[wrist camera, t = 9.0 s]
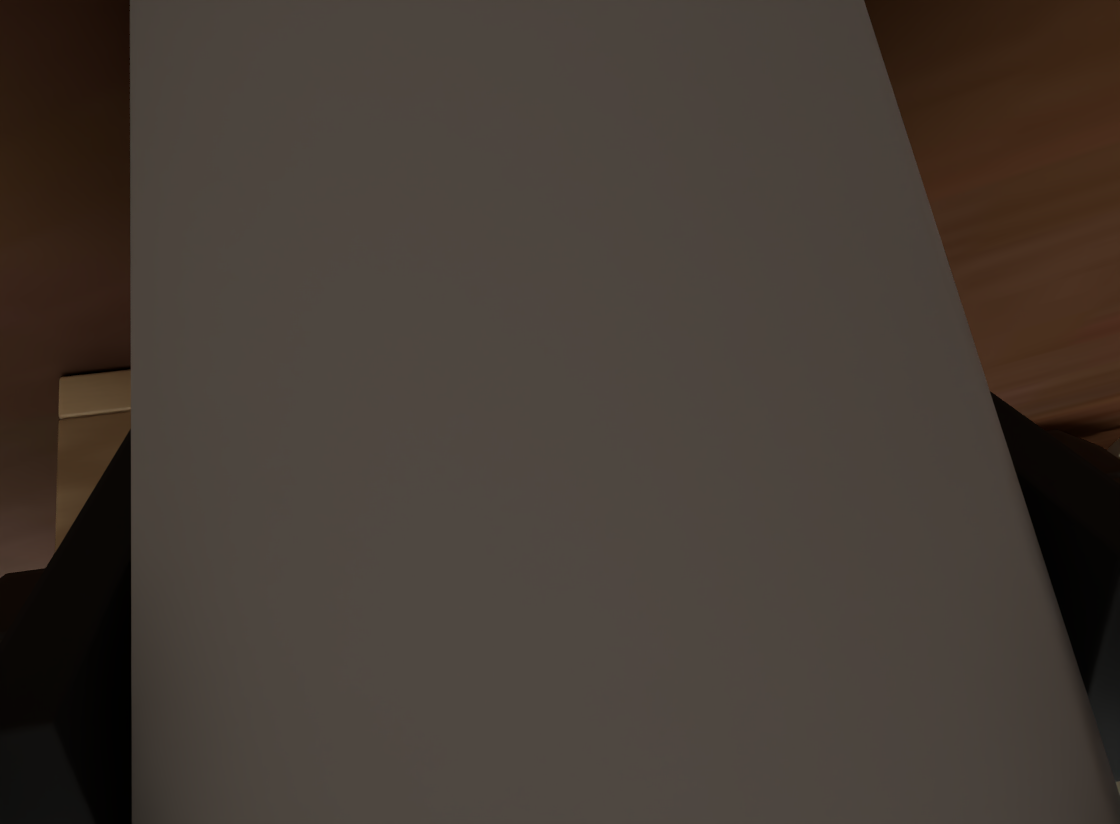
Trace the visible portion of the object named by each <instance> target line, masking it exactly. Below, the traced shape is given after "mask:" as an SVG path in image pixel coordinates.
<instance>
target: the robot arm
mask: <svg viewBox="0 0 1120 824" xmlns="http://www.w3.org/2000/svg"><path fill="white" fill-rule="evenodd" d="M990 394H991V397H992V400H993V403H994V406H995V409H996V412H997V416H998V419H999V422H1000V425H1001V428H1002V431H1003V434H1004V437H1005V440H1006V444H1007V447H1008V450H1009V453H1010V456H1011V459H1012V462H1013V465H1014V468H1015V472H1016V475H1017V478H1018V481H1019V484H1020V487H1021V490H1022V493H1023V496H1024V499H1025V503H1026V506H1027V509H1028V512H1029V515H1030V518H1031V521H1032V524H1033V527H1034V531H1035V534H1036V537H1037V540H1038V543H1039V546H1040V549H1041V552H1042V555H1043V559H1044V562H1045V565H1046V568H1047V571H1048V574H1049V577H1050V580H1051V583H1052V586H1053V590H1054V593H1055V596H1056V599H1057V602H1058V605H1059V608H1060V611H1061V614H1062V618H1063V621H1064V624H1065V627H1066V630H1067V633H1068V636H1069V639H1070V642H1071V646H1072V649H1073V652H1074V655H1075V658H1076V661H1077V664H1078V667H1079V670H1080V673H1081V677H1082V680H1083V683H1084V686H1085V689H1086V692H1087V695H1088V698H1089V701H1090V705H1091V708H1092V711H1093V714H1094V717H1095V720H1096V723H1097V726H1098V729H1099V733H1100V736H1101V739H1102V742H1103V745H1104V748H1105V751H1106V754H1107V757H1108V760H1109V764H1110V767H1111V770H1112V773H1113V776H1114V779H1115V782H1118V781H1120V459H1119V458H1117V457H1116V456H1114V455H1113V454H1111V453H1110V452H1108V451H1107V450H1106V449H1104V448H1103V447H1101V446H1098V445H1095V444H1093V443H1090V442H1088V441H1085V440H1083V439H1080V438H1078V437H1075V436H1073V435H1070V434H1068V433H1065V432H1063V431H1060V430H1058V429H1056V430H1049V431H1045V430H1043V429H1042V428H1041V427H1039V426H1038V425H1036V424H1035V423H1034V422H1032V421H1031V420H1029V419H1028V418H1027V417H1025V416H1024V415H1022V414H1021V413H1020V412H1018V411H1017V410H1015V409H1014V408H1013V407H1011V406H1010V405H1009V404H1007V403H1006V402H1004V401H1003V400H1002V399H1000V398H999V397H997V396H996V395H995V394H993V393H992V392H990ZM0 824H132V694H131V429H130V430H129V432H128V434H127V435H126V437H125V439H124V440H123V442H122V444H121V445H120V447H119V448H118V450H117V452H116V453H115V455H114V457H113V458H112V460H111V462H110V463H109V465H108V467H107V468H106V470H105V471H104V473H103V475H102V476H101V478H100V480H99V481H98V483H97V485H96V486H95V488H94V490H93V491H92V493H91V495H90V496H89V498H88V499H87V501H86V503H85V504H84V506H83V508H82V509H81V511H80V513H79V514H78V516H77V518H76V519H75V521H74V522H73V524H72V526H71V527H70V529H69V531H68V532H67V534H66V536H65V537H64V539H63V541H62V542H61V544H60V546H59V547H58V549H57V550H56V552H55V554H54V555H53V557H52V559H51V560H50V562H49V564H48V565H47V567H46V568H45V569H37V570H30V571H22V572H15V573H7V574H5V575H4V576H3V577H1V578H0Z"/></svg>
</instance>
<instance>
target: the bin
mask: <svg viewBox="0 0 1120 824" xmlns="http://www.w3.org/2000/svg"><path fill="white" fill-rule="evenodd" d="M58 415H59V418H60V419H61V420H59V422H58V460H57V499H56V538H55V552H56V550H57V549H58V547H59V546H60V544H61V542H62V541H63V539H64V537H65V536H66V534H67V532H68V531H69V529H70V527H71V526H72V524H73V522H74V521H75V519H76V518H77V516H78V514H79V513H80V511H81V509H82V508H83V506H84V504H85V503H86V501H87V499H88V498H89V496H90V495H91V493H92V491H93V490H94V488H95V486H96V485H97V483H98V481H99V480H100V478H101V476H102V475H103V473H104V471H105V470H106V468H107V467H108V465H109V463H110V462H111V460H112V458H113V457H114V455H115V453H116V452H117V450H118V448H119V447H120V445H121V444H122V442H123V440H124V439H125V437H126V435H127V434H128V432H129V430H130V429H131V369H129V370H120V371H111V372H102V373H93V374H84V375H76V376H67V377H61V378H60V379H59V414H58Z"/></svg>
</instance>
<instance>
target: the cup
mask: <svg viewBox="0 0 1120 824" xmlns="http://www.w3.org/2000/svg"><path fill="white" fill-rule="evenodd" d="M130 254H131V694H132V824H1120V795H1119V792H1118V788H1117V785H1116V782H1115V779H1114V776H1113V773H1112V770H1111V767H1110V764H1109V760H1108V757H1107V754H1106V751H1105V748H1104V745H1103V742H1102V739H1101V736H1100V733H1099V729H1098V726H1097V723H1096V720H1095V717H1094V714H1093V711H1092V708H1091V705H1090V701H1089V698H1088V695H1087V692H1086V689H1085V686H1084V683H1083V680H1082V677H1081V673H1080V670H1079V667H1078V664H1077V661H1076V658H1075V655H1074V652H1073V649H1072V646H1071V642H1070V639H1069V636H1068V633H1067V630H1066V627H1065V624H1064V621H1063V618H1062V614H1061V611H1060V608H1059V605H1058V602H1057V599H1056V596H1055V593H1054V590H1053V586H1052V583H1051V580H1050V577H1049V574H1048V571H1047V568H1046V565H1045V562H1044V559H1043V555H1042V552H1041V549H1040V546H1039V543H1038V540H1037V537H1036V534H1035V531H1034V527H1033V524H1032V521H1031V518H1030V515H1029V512H1028V509H1027V506H1026V503H1025V499H1024V496H1023V493H1022V490H1021V487H1020V484H1019V481H1018V478H1017V475H1016V472H1015V468H1014V465H1013V462H1012V459H1011V456H1010V453H1009V450H1008V447H1007V444H1006V440H1005V437H1004V434H1003V431H1002V428H1001V425H1000V422H999V419H998V416H997V412H996V409H995V406H994V403H993V400H992V397H991V394H990V391H989V388H988V385H987V381H986V378H985V375H984V372H983V369H982V366H981V363H980V360H979V357H978V353H977V350H976V347H975V344H974V341H973V338H972V335H971V332H970V329H969V325H968V322H967V319H966V316H965V313H964V310H963V307H962V304H961V301H960V298H959V294H958V291H957V288H956V285H955V282H954V279H953V276H952V273H951V270H950V266H949V263H948V260H947V257H946V254H945V251H944V248H943V245H942V242H941V238H940V235H939V232H938V229H937V226H936V223H935V220H934V217H933V214H932V211H931V207H930V204H929V201H928V198H927V195H926V192H925V189H924V186H923V183H922V179H921V176H920V173H919V170H918V167H917V164H916V161H915V158H914V155H913V151H912V148H911V145H910V142H909V139H908V136H907V133H906V130H905V127H904V124H903V120H902V117H901V114H900V111H899V108H898V105H897V102H896V99H895V96H894V92H893V89H892V86H891V83H890V80H889V77H888V74H887V71H886V68H885V64H884V61H883V58H882V55H881V52H880V49H879V46H878V43H877V40H876V37H875V33H874V30H873V27H872V24H871V21H870V18H869V15H868V12H867V9H866V5H865V2H864V0H130Z"/></svg>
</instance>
